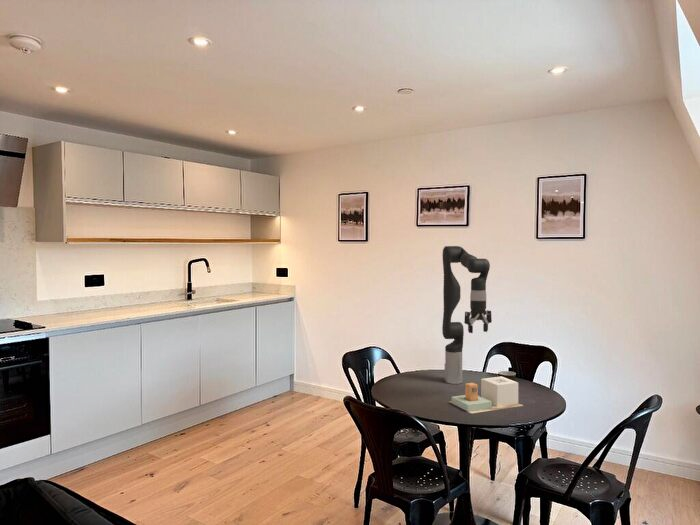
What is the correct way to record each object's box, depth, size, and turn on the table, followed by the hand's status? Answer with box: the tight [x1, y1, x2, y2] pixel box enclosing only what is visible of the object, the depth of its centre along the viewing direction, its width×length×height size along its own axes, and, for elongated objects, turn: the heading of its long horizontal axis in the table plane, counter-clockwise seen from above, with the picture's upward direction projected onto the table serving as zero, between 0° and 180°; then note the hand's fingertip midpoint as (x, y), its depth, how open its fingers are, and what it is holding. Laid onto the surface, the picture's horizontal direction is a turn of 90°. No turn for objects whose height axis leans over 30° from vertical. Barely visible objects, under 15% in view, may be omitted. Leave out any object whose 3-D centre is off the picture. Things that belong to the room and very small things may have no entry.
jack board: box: [448, 400, 524, 414], centre depth 226 cm, size 18×29×1 cm, turn 112°
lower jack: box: [451, 394, 492, 413], centre depth 223 cm, size 13×13×3 cm
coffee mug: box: [493, 370, 517, 382], centre depth 247 cm, size 12×9×10 cm
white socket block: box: [480, 376, 519, 407], centre depth 229 cm, size 12×12×10 cm
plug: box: [464, 382, 479, 402], centre depth 222 cm, size 5×4×10 cm
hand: (478, 332), depth 235 cm, fingers open, 8 cm apart
